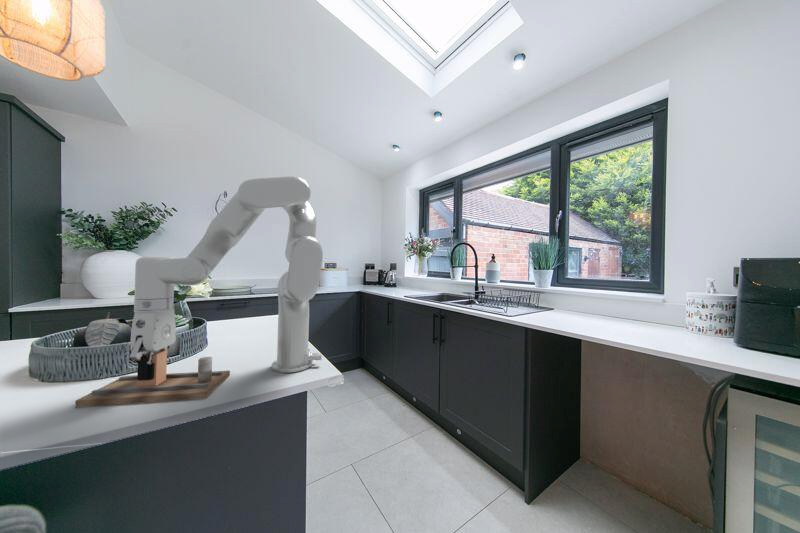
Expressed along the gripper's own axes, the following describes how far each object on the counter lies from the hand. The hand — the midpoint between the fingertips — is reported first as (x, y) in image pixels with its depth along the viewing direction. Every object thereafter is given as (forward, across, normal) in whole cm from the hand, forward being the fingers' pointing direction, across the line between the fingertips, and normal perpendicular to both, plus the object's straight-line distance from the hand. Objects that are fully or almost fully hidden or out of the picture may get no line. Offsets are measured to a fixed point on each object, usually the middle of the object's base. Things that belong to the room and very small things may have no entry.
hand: (152, 375), depth 69 cm
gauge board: (+4, 0, -2) cm, 5 cm away
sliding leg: (+2, 0, 0) cm, 2 cm away
